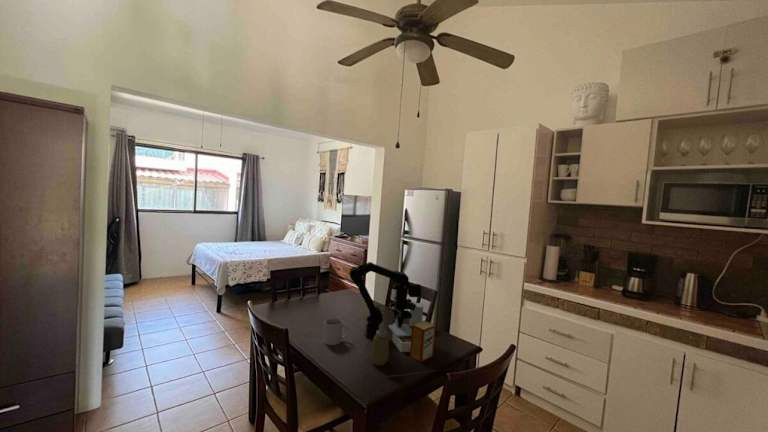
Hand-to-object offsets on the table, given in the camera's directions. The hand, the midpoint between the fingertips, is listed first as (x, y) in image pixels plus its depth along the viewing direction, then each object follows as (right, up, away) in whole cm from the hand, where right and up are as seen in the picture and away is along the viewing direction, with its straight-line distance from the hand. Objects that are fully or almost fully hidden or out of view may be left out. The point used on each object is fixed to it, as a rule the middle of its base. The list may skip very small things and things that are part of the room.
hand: (398, 325), depth 165 cm
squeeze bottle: (-10, -7, -27) cm, 30 cm away
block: (+3, -7, -8) cm, 11 cm away
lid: (+1, -1, -3) cm, 4 cm away
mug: (-33, -5, -10) cm, 35 cm away
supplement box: (+11, -7, +18) cm, 22 cm away
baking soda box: (+10, -8, -19) cm, 23 cm away
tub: (+3, -7, -10) cm, 13 cm away
